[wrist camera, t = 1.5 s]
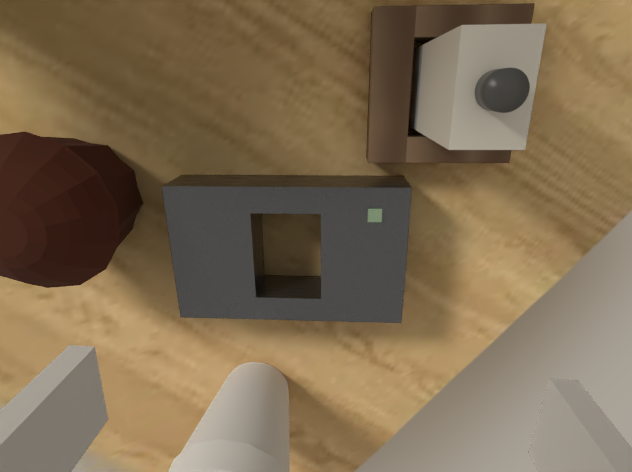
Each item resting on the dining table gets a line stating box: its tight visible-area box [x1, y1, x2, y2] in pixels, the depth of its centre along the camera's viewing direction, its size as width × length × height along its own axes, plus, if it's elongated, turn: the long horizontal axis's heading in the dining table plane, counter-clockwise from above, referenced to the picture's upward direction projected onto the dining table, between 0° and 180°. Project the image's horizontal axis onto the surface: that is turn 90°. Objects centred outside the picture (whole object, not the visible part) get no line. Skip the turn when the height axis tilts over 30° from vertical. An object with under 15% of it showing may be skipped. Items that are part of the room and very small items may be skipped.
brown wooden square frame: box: [366, 3, 534, 163], centre depth 28 cm, size 10×10×2 cm
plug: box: [410, 24, 547, 150], centre depth 23 cm, size 4×5×14 cm, turn 0°
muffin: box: [0, 132, 143, 288], centre depth 29 cm, size 12×11×10 cm
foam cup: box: [168, 362, 289, 472], centre depth 34 cm, size 10×9×13 cm
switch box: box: [162, 175, 412, 323], centre depth 32 cm, size 18×11×4 cm, turn 90°
